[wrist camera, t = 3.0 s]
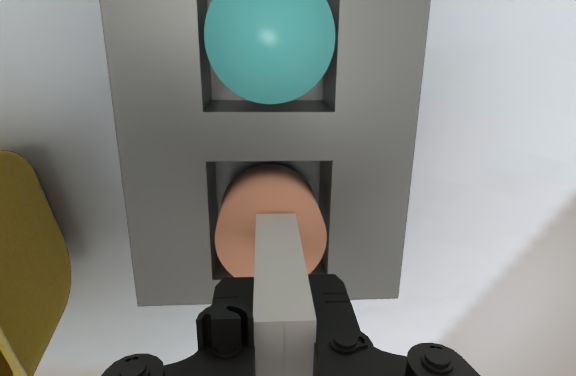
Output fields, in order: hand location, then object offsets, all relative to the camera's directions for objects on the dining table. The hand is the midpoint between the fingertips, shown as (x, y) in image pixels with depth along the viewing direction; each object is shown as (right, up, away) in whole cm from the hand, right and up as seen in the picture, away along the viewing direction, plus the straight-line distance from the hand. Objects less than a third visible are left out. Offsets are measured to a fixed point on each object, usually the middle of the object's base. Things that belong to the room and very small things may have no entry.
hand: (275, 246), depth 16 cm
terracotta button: (0, +1, +3) cm, 4 cm away
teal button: (0, +8, +1) cm, 8 cm away
